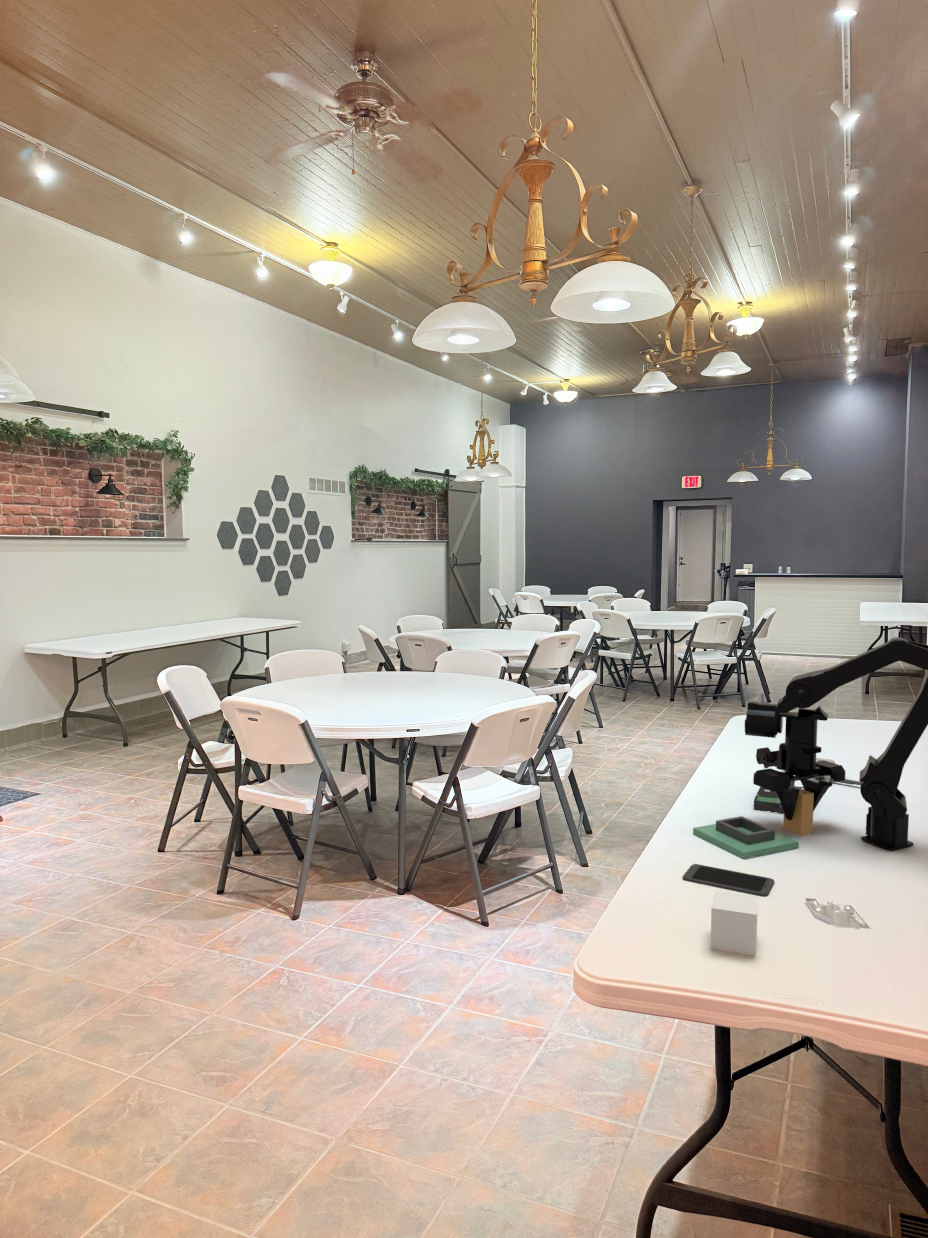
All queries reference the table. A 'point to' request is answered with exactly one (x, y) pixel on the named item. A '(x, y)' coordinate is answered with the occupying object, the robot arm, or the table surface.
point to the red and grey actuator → (838, 781)
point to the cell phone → (729, 880)
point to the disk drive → (768, 801)
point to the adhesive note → (734, 923)
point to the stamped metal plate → (835, 914)
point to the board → (745, 837)
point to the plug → (801, 814)
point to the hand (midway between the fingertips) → (798, 818)
